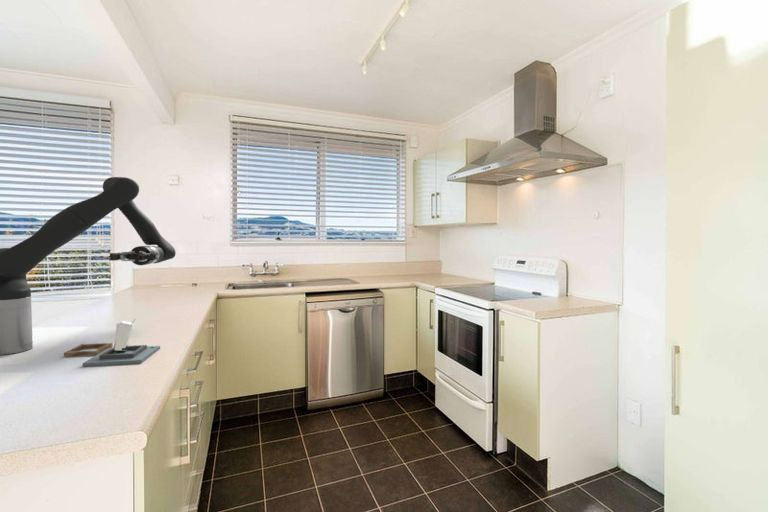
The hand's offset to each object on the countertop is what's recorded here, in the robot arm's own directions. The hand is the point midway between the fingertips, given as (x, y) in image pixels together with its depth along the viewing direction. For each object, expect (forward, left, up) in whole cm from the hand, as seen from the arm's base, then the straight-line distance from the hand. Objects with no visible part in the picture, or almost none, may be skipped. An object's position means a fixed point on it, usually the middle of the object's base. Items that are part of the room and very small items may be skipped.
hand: (125, 257), depth 125 cm
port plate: (+8, -19, -30) cm, 36 cm away
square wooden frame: (-6, -11, -30) cm, 33 cm away
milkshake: (+6, -18, -29) cm, 34 cm away
